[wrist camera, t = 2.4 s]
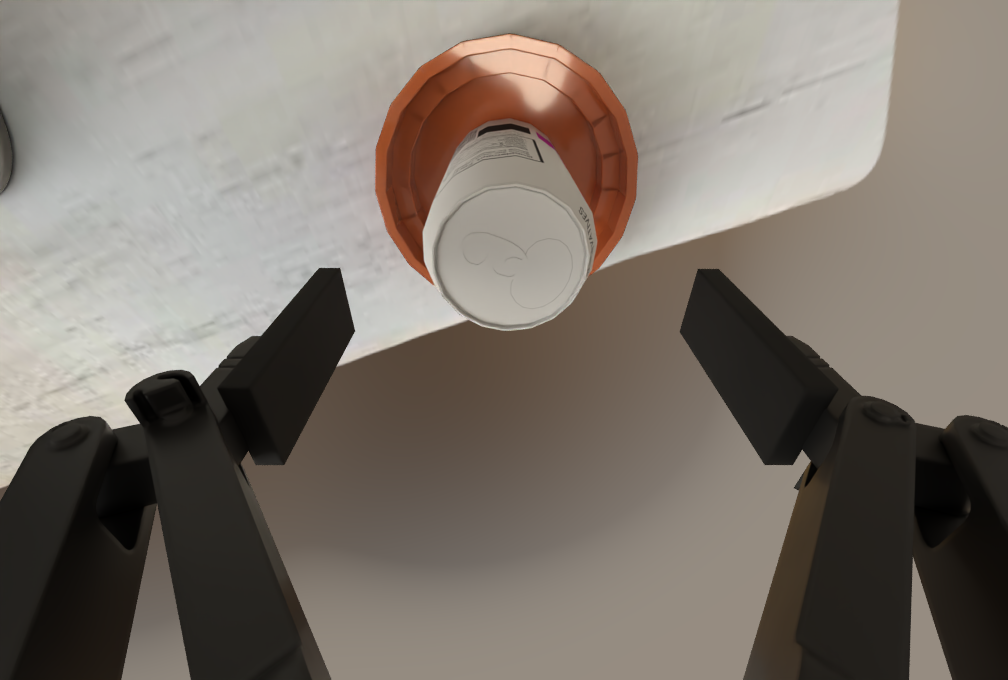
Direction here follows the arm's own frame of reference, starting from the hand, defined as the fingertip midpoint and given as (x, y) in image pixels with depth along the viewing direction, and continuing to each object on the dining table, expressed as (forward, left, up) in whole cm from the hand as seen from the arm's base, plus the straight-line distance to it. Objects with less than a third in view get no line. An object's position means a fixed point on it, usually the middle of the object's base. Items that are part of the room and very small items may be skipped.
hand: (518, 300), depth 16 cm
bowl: (0, 0, -19) cm, 19 cm away
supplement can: (0, 0, -19) cm, 19 cm away
